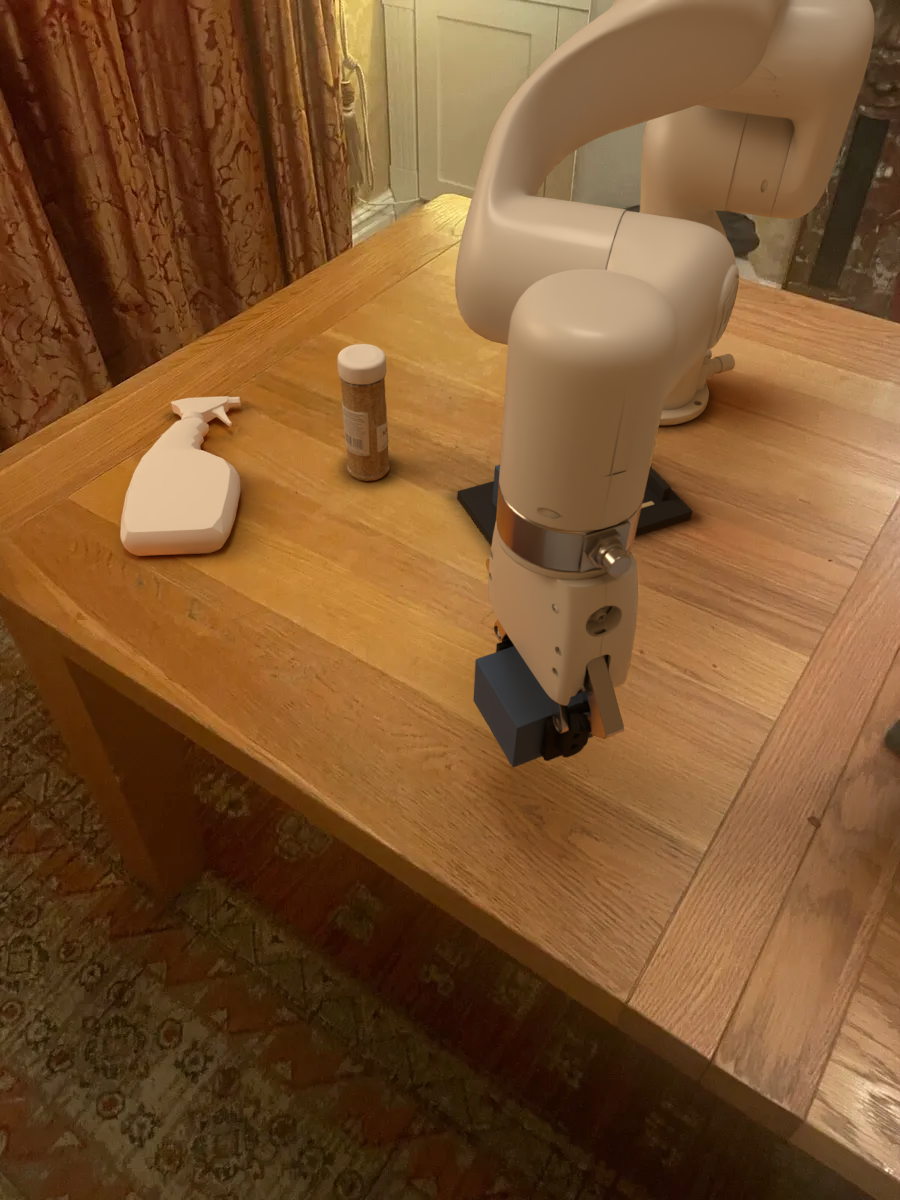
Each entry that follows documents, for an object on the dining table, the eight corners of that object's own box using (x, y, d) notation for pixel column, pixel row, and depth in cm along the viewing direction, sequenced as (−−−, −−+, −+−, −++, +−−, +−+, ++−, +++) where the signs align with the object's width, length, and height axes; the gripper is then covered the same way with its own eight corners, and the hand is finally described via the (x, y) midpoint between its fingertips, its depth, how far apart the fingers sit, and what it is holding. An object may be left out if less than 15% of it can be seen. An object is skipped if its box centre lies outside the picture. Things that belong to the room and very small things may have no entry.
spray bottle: (116, 560, 84) (157, 412, 101) (235, 555, 85) (255, 409, 102) (108, 535, 82) (151, 389, 99) (230, 531, 83) (251, 386, 100)
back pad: (561, 668, 65) (568, 626, 61) (605, 732, 61) (615, 691, 58) (472, 700, 62) (475, 658, 59) (512, 768, 59) (517, 728, 55)
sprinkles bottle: (398, 473, 94) (394, 358, 84) (360, 488, 92) (351, 372, 82) (376, 450, 97) (370, 336, 87) (338, 464, 95) (328, 350, 85)
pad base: (626, 451, 97) (634, 408, 93) (691, 518, 90) (703, 474, 86) (457, 498, 91) (458, 454, 87) (511, 575, 84) (515, 530, 80)
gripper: (722, 598, 44) (656, 794, 57) (550, 407, 55) (528, 610, 68) (588, 645, 42) (551, 838, 55) (437, 437, 52) (436, 640, 66)
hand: (539, 710), depth 61 cm, fingers closed on back pad, 6 cm apart
